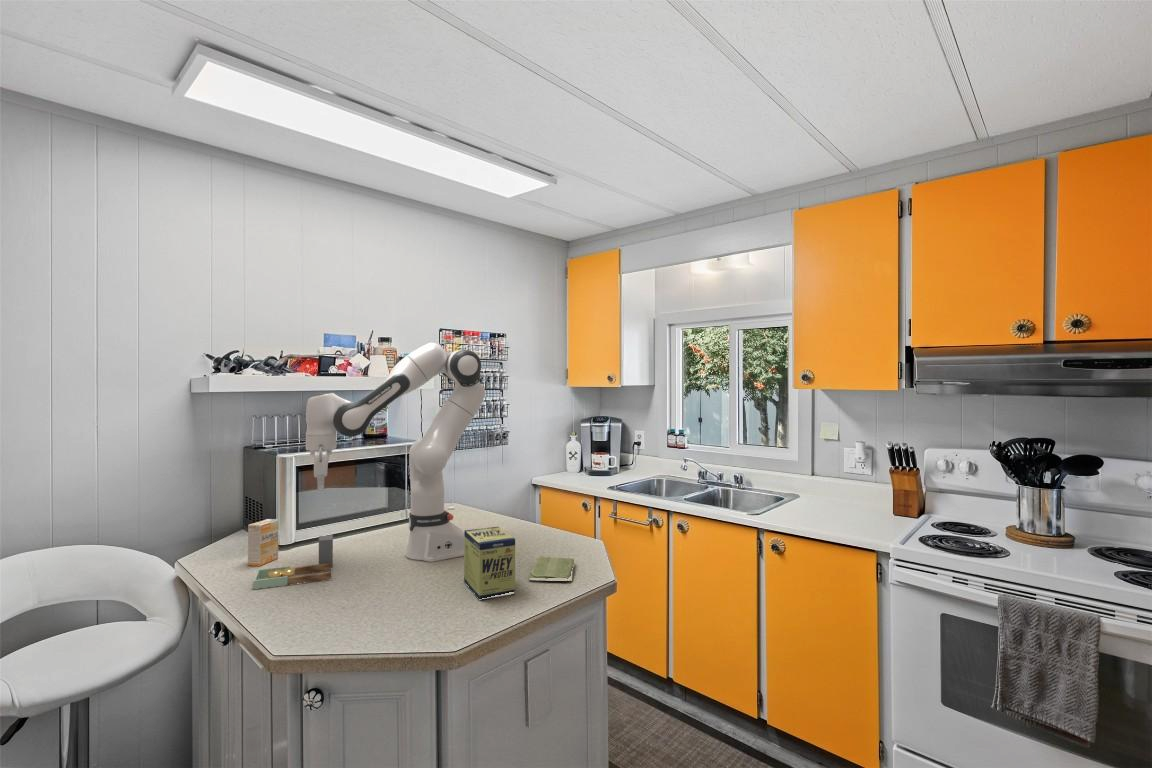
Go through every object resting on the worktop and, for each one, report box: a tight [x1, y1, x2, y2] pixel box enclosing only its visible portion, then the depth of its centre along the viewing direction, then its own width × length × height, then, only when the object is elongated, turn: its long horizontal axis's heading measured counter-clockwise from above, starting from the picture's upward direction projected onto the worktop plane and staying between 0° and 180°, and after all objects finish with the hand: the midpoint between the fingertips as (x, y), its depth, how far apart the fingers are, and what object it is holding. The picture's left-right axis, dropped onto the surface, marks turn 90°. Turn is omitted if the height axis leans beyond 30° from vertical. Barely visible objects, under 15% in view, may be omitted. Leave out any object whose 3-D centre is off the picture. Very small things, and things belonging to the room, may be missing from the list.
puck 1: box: [267, 569, 282, 579], centre depth 162 cm, size 4×4×3 cm
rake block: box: [318, 534, 334, 569], centre depth 175 cm, size 4×6×9 cm
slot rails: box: [287, 563, 332, 586], centre depth 165 cm, size 12×10×2 cm
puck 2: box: [282, 567, 296, 577], centre depth 163 cm, size 4×4×3 cm
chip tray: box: [252, 565, 291, 590], centre depth 161 cm, size 8×10×2 cm
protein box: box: [463, 526, 516, 599], centre depth 157 cm, size 10×16×16 cm
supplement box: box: [247, 518, 280, 567], centre depth 179 cm, size 8×5×13 cm, turn 168°
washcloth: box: [528, 555, 575, 579], centre depth 170 cm, size 13×18×3 cm
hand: (321, 487), depth 175 cm, fingers open, 8 cm apart
